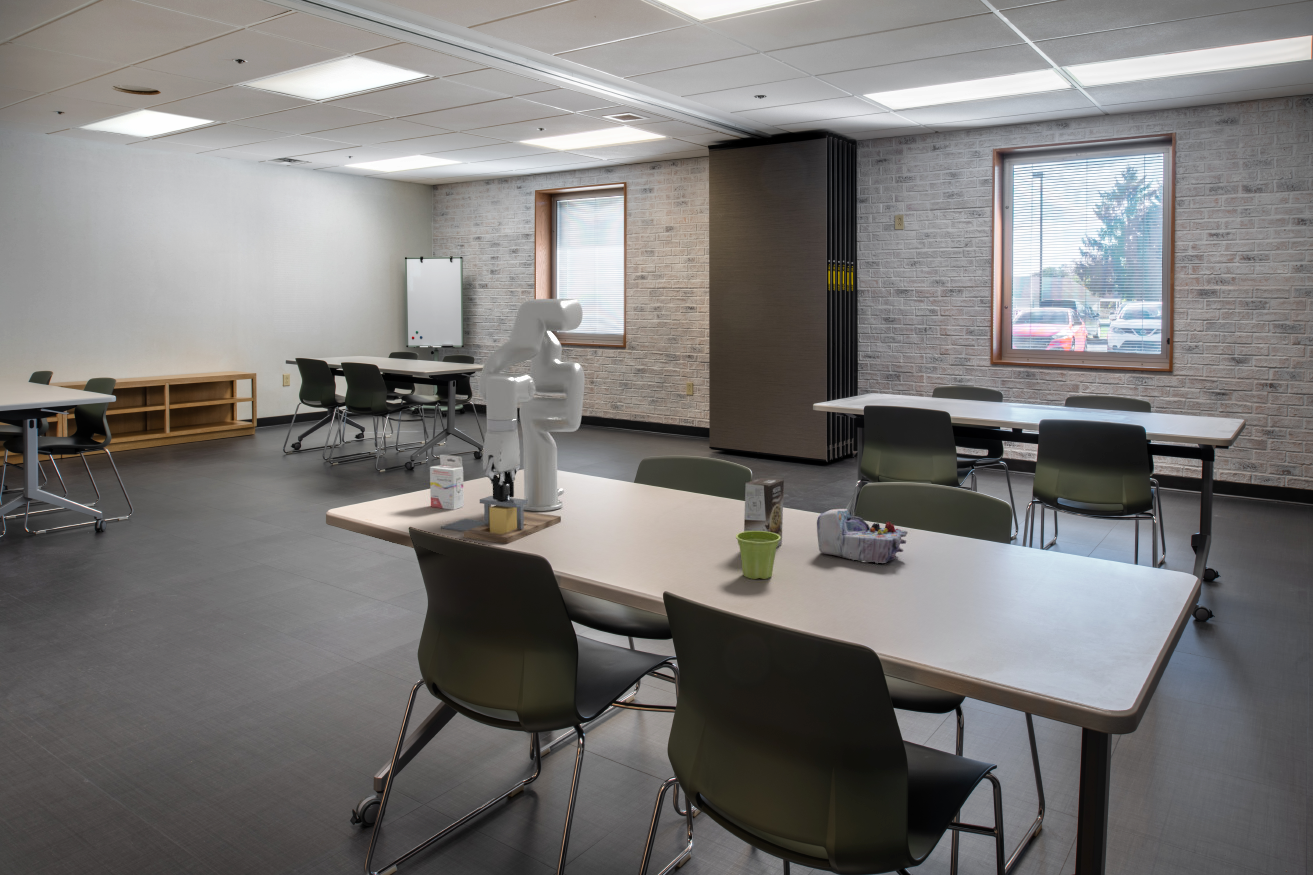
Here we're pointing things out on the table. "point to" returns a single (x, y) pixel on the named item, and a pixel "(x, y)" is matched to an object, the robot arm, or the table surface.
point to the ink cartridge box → (447, 483)
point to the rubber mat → (463, 525)
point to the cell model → (857, 537)
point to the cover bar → (507, 502)
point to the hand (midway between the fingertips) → (503, 497)
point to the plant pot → (757, 553)
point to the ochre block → (503, 519)
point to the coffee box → (764, 506)
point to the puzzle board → (531, 525)
